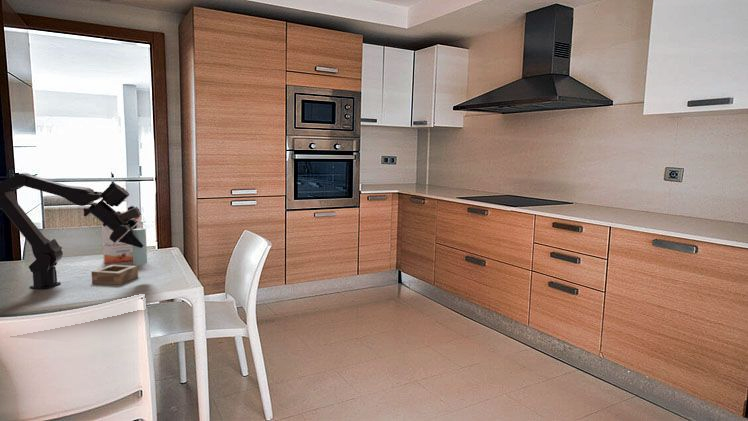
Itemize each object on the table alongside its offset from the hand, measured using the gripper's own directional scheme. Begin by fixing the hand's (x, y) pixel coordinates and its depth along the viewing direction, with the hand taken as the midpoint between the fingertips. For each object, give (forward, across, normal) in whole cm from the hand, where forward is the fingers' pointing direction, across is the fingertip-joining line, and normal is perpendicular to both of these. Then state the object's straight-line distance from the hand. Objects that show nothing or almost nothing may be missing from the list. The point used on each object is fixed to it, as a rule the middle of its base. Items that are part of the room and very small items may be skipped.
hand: (143, 245), depth 167 cm
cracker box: (0, +34, +19) cm, 39 cm away
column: (+4, 0, +6) cm, 7 cm away
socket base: (+2, +4, +17) cm, 17 cm away
